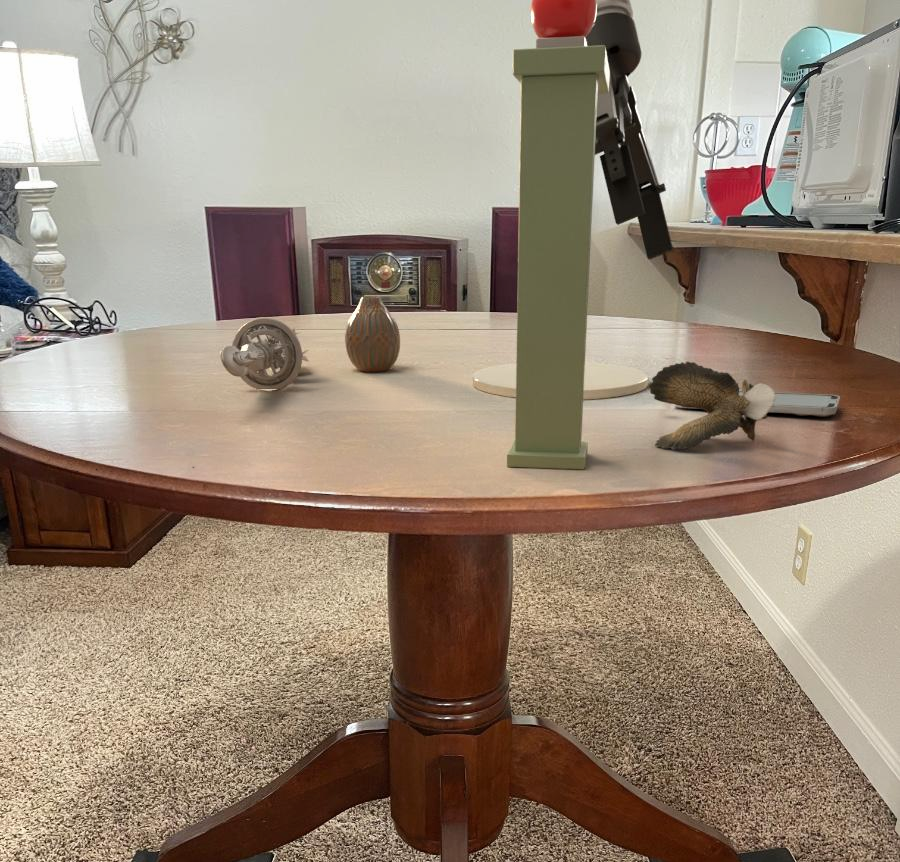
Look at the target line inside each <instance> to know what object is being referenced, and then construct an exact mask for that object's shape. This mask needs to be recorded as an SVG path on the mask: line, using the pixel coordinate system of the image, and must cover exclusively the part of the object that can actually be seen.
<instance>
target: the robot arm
mask: <svg viewBox="0 0 900 862" xmlns="http://www.w3.org/2000/svg"><path fill="white" fill-rule="evenodd" d="M596 3H597V11H596V18H595V22H594V25H593V27H592V29H591V31H590V33H589V34H588V35H587V37H586V38H585V39H586V43H587V46H598V45H605V47H606V53H607V59H608V65H609V71H610V78H609V93H605V94H598V96H597V117H596V138H595V156H596V155H598V154H601V153H603V154H601V155H599V160H600V164H601V168H602V173H603V176H604V182H605V185H606V188H607V192H608V196H609V201H610V205H611V209H612V214H613V218H614V221H615V224H616V225H617V226H620V225H621V224H624V223H626V222H628V221H631V220H633V219H636V218H637V220H638V225H639V229H640V233H641V237H642V241H643V245H644V250H645V254H646V258H647V260H648V261H650V260H652V259H655V258H657V257H660V256H662V255H665V254H667V253H670V252H672V251H674V246H673V244H672V239H671V235H670V231H669V230H670V229H669V226H668V222H667V217H666V215H665V211H664V206H663V202H662V199H661V198H662V197H661V194H662V193H664V192H666V191H667V187H666V185H665V182H663V183H659V179H658V177H657V173H656V169H655V167H654V163H653V160H652V155H651V153H650V150H649V146H648V143H647V139H646V136H645V133H644V129H643V122H642V119H641V117H640V113H639V109H638V103H637V96H636V93H635V90H634V87H633V85H630V82H629V79H628V77H629V76H630V75H631V74H632V73H634V72H635V70H636V69H637V68H638V67H639V64H640V63H641V60H642V54H643V53H642V52H643V51H642V47H641V43H640V38H639V34H638V30H637V26H636V22H635V20H634V19H633V18H634V17H633V16H634V11H633V7H632V3H631V0H596Z"/></svg>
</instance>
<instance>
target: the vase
mask: <svg viewBox="0 0 900 862" xmlns="http://www.w3.org/2000/svg"><path fill="white" fill-rule="evenodd" d="M344 344H345V350H346V353H347V357H348V359H349V361H350V363H351V364H352V365H353V366H354V367H355V368H356V369H357V370H358V371H360V372H366V373H367V372H369V373H376V372H385V371H389V370H390V369H392V367H393V366H394V365H395V364H396V362H397V360H398V358H399V354H400V349H401V335H400V330H399V325H398V323H397V321H396V319H395V318H394V316H393V315H392V314H391V312H390V311H389V310H388V309H387V307H386V306H385V304H384V302H383V299H382V297H380V296H377V295H375V296H373V295H370V296H361V298H360V300H359V302H358V305H357V307H356V309H355V310H354V311H353V312H352V315H351V316H350V318H349V319H348V321H347V324H346V328H345V334H344Z"/></svg>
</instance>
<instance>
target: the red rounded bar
mask: <svg viewBox="0 0 900 862" xmlns="http://www.w3.org/2000/svg"><path fill="white" fill-rule="evenodd" d="M530 4H531V5H530V21H531V25H532V28H533V31H534V33H535V35H536V36H537V38H536V39H535V48H555V47H576V46H587V43H586V39H585V38H586V37H587V35H588V34H589V33H590V31H591V29H592V27H593V25H594V22H595V18H596V11H597V3H596V0H531V3H530Z"/></svg>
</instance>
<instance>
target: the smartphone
mask: <svg viewBox="0 0 900 862" xmlns="http://www.w3.org/2000/svg"><path fill="white" fill-rule="evenodd" d="M774 392H775V397H776V398H775V401H774V405H773V407H772V409H771V410H770V411H769V412H768V413H775V414H777V413H779V414H793V415H795V416H799V417H806V416H814V417H818V418H819V417H820V418H824V417H825V418H826V417H829V416H832V415H835V414H836V413H837V410H838V407H839V405H840V398H841V396H839V395H836V394H826V393H825V394H823V393H802V392H801V393H798V392H777V391H774ZM742 395H743V391H742V390H739V396H742ZM673 407H675V408H680V409H689V408H688V407H682V406H679V405H675V404H673ZM696 409H699V408H696ZM699 410H700V409H699Z"/></svg>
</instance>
